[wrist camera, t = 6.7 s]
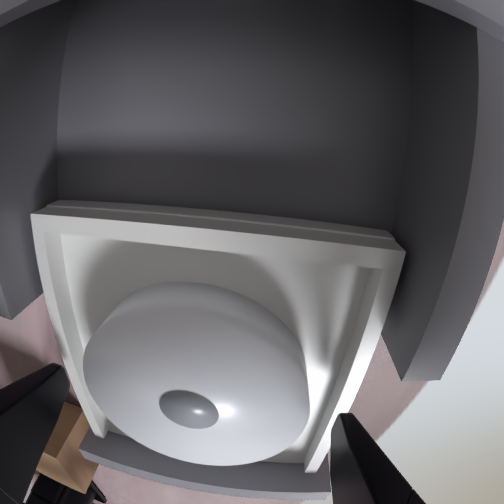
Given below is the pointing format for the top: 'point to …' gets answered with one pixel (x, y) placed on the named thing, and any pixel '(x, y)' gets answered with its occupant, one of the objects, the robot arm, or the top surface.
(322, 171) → the player housing
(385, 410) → the top surface
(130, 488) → the top surface
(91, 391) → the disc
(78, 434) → the block
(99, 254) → the tray
